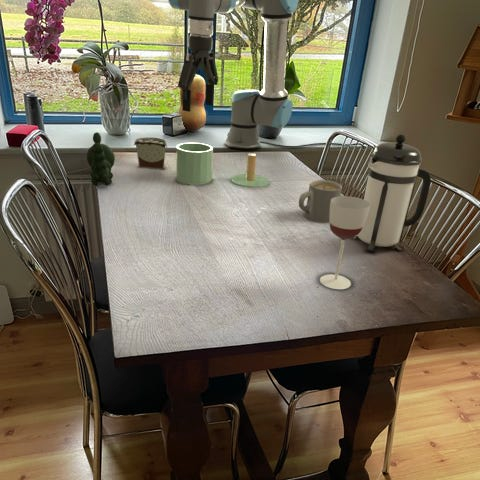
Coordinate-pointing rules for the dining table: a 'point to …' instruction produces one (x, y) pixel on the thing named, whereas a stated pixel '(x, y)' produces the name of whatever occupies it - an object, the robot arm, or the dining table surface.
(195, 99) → the butternut squash
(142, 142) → the food container
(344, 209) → the wineglass
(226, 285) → the dining table surface
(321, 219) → the coffee mug
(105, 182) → the toy figurine
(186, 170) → the canister
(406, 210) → the coffee press
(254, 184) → the lid
